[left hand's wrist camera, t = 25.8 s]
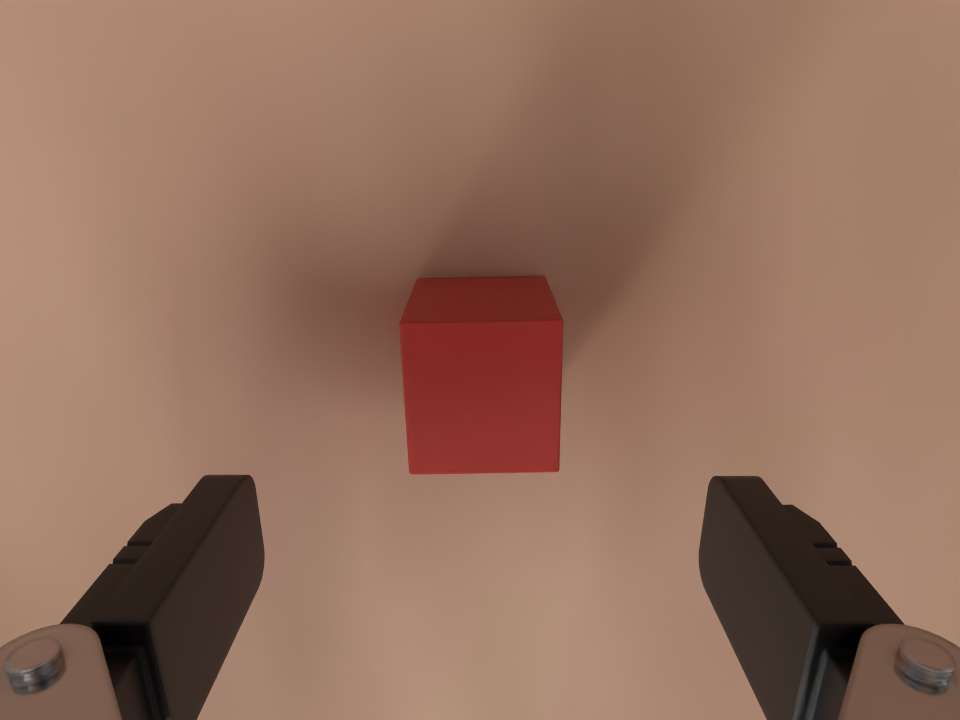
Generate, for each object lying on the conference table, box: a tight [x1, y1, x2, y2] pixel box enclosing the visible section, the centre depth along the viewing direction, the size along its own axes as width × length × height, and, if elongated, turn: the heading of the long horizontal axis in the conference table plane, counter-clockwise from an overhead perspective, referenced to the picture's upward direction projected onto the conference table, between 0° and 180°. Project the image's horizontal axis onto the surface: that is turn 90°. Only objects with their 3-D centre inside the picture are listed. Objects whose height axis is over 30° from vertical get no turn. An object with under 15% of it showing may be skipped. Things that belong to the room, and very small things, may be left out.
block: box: [399, 276, 563, 474], centre depth 19 cm, size 4×4×5 cm
